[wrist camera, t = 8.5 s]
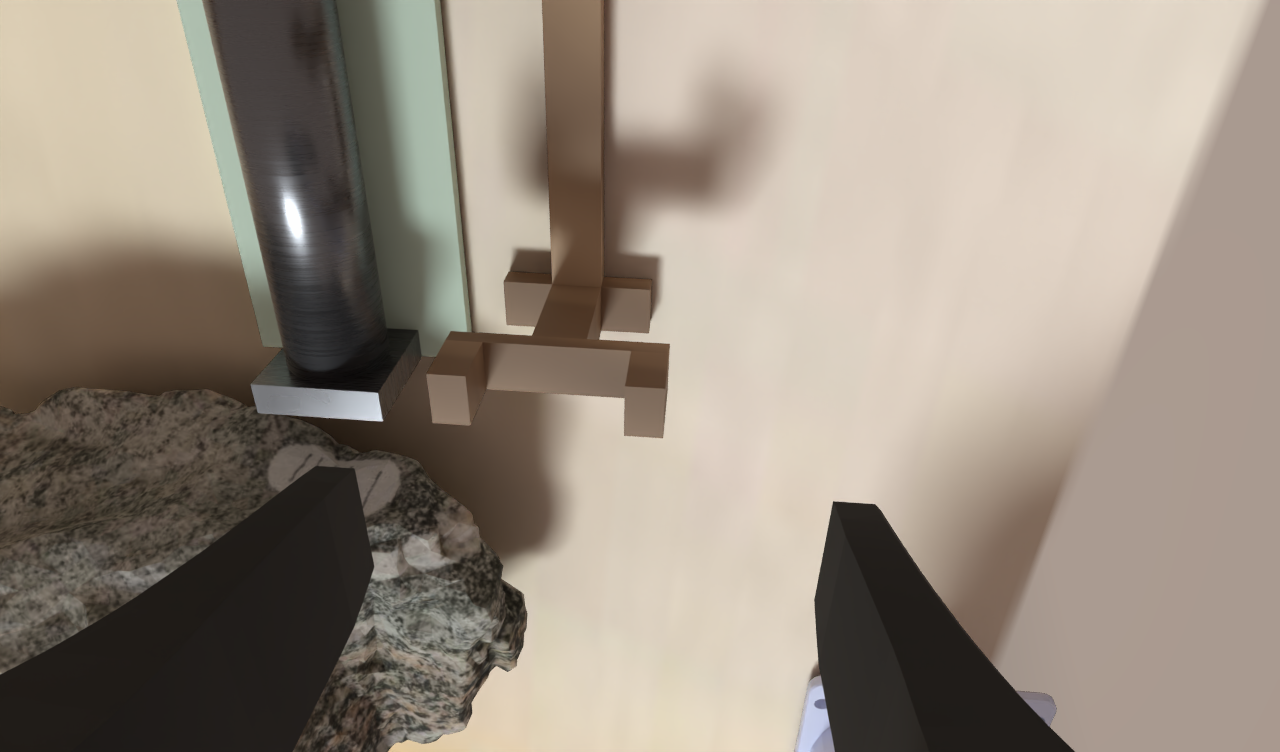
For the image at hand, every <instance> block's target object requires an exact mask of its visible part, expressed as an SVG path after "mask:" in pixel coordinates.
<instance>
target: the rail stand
mask: <svg viewBox="0 0 1280 752" xmlns="http://www.w3.org/2000/svg"><path fill="white" fill-rule="evenodd" d="M542 14H543V42H544V70H545V98H546V126H547V154H548V181H549V209H550V237H551V265H552V274H544V273H526V272H508V274H507V276H506V278H505V280H504V293H505V308H506V322H507V325H516V326H533V327H535V330H534V332H533V335H532V336H526V335H509V334H492V333H475V332H459V331H450V333H449V335H448V336H447V338H446V340H445V342H444V343H443V345H442V347H441V349H440V350H439V352H438V354H437V356H436V357H435V359H434V361H433V363H432V364H431V366H430V368H429V370H428V371H427V373H426V377H427V385H428V392H429V400H430V407H431V415H432V422H433V423H439V424H455V425H470V426H471V423H472V421H473V419H474V416H475V414H476V412H477V410H478V407H479V405H480V403H481V401H482V398H483V396H484V394H485V391H486V389H490V390H506V391H522V392H538V393H554V394H570V395H585V396H601V397H617V398H625V411H624V436H638V437H653V438H663V433H664V422H665V411H666V401H667V389H668V369H669V348H670V344H661V343H644V342H627V341H610V340H599V337H600V333H601V331H618V332H636V333H649V328H650V318H651V289H652V279H635V278H617V277H604V0H542Z"/></svg>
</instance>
